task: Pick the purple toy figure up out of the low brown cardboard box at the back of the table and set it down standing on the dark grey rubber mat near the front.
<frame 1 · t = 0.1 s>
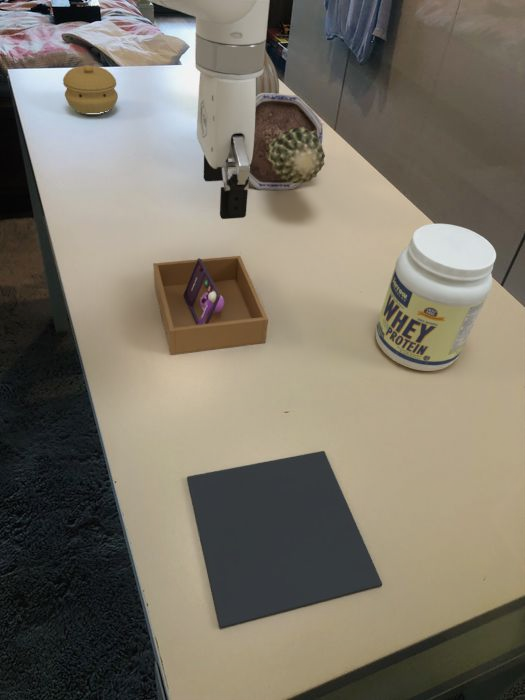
hand: (223, 197, 72), 17 cm above the table, tool pointing down, fingers open, 9 cm apart
vase: (248, 121, 135), on the table
purple toy figure: (207, 312, 81), resting on box
box: (207, 313, 81), on the table
supplement tub: (415, 345, 80), on the table
mat: (278, 529, 57), on the table
pot: (93, 112, 130), on the table
potted plant: (274, 191, 110), on the table
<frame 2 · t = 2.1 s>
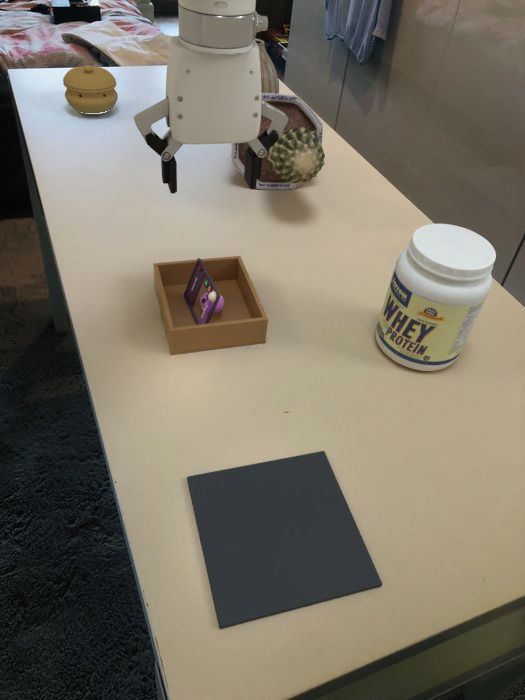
hand: (211, 186, 67), 20 cm above the table, tool pointing down, fingers open, 9 cm apart
nothing on the table moved.
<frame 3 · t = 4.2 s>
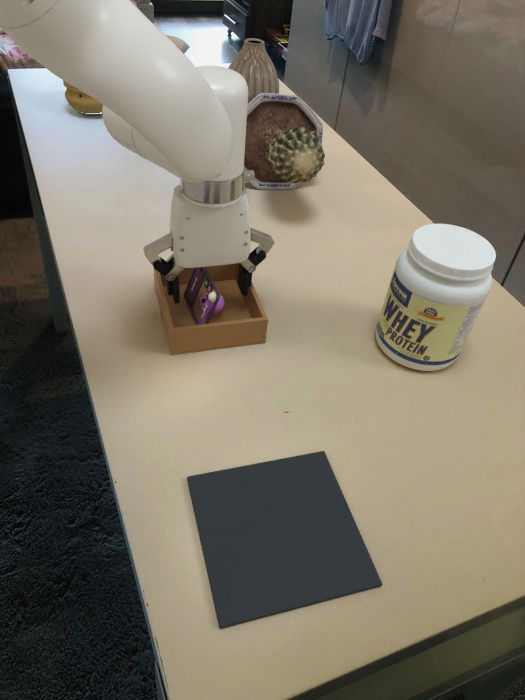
hand: (209, 293, 78), 3 cm above the table, tool pointing down, fingers open, 9 cm apart
nothing on the table moved.
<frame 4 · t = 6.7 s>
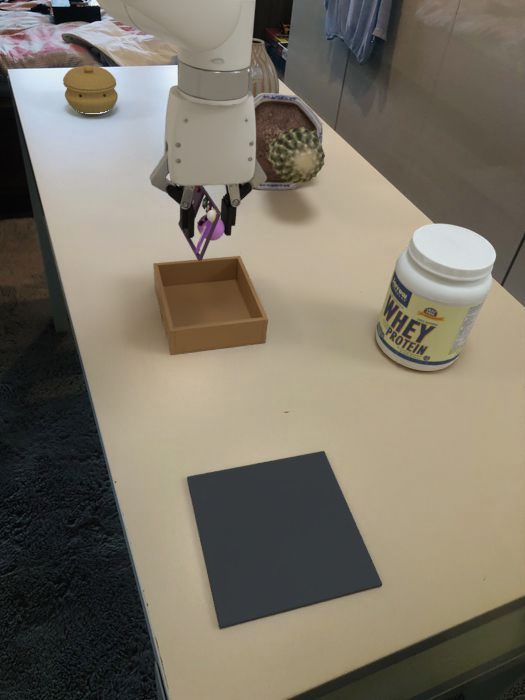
hand: (207, 230, 71), 14 cm above the table, tool pointing down, fingers closed on purple toy figure, 4 cm apart
purple toy figure: (205, 241, 72), point 13 cm above the table, touching gripper
everything else where it was.
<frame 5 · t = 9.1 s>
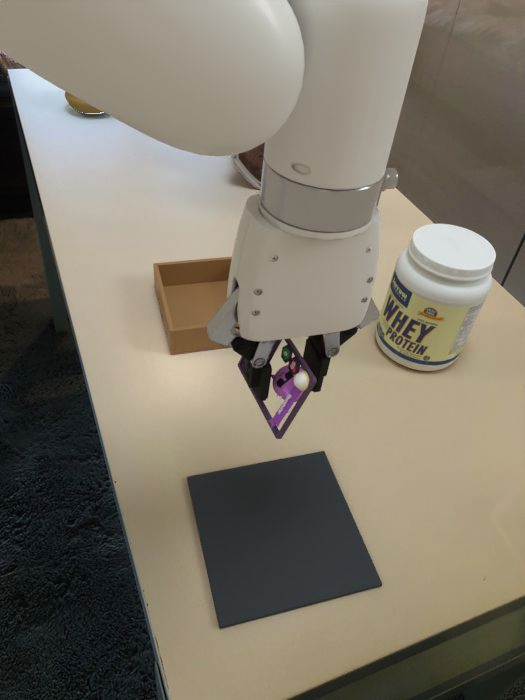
hand: (284, 383, 48), 18 cm above the table, tool pointing down, fingers closed on purple toy figure, 4 cm apart
purple toy figure: (280, 396, 49), point 16 cm above the table, touching gripper
everything else where it was.
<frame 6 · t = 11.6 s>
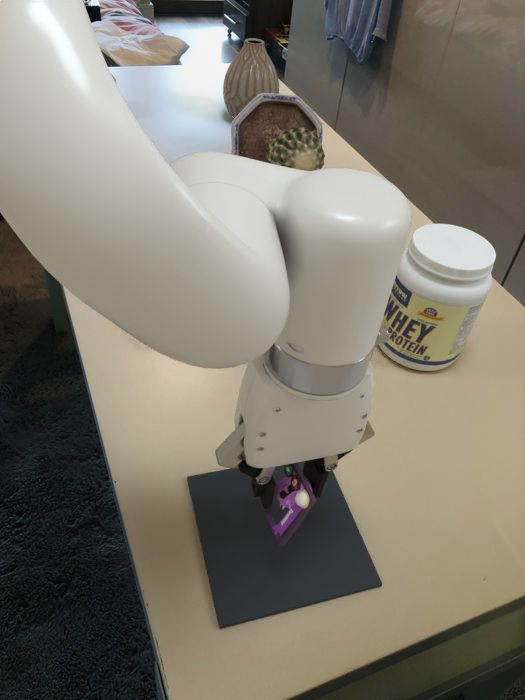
hand: (287, 488, 52), 8 cm above the table, tool pointing down, fingers closed on purple toy figure, 4 cm apart
purple toy figure: (283, 499, 53), point 6 cm above the table, touching gripper
everything else where it was.
when the fingers open (2 cm above the table, at t = 13.2 s): purple toy figure stays where it is, resting on mat.
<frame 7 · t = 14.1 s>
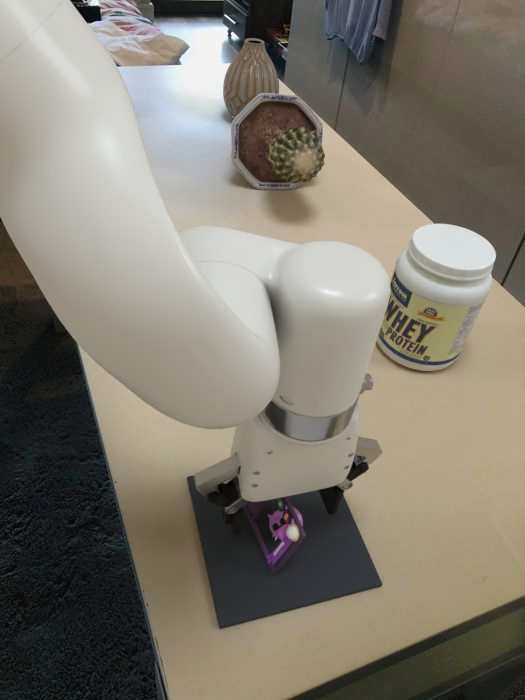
hand: (281, 511, 54), 4 cm above the table, tool pointing down, fingers open, 9 cm apart
purple toy figure: (276, 528, 57), resting on mat
everything else where it was.
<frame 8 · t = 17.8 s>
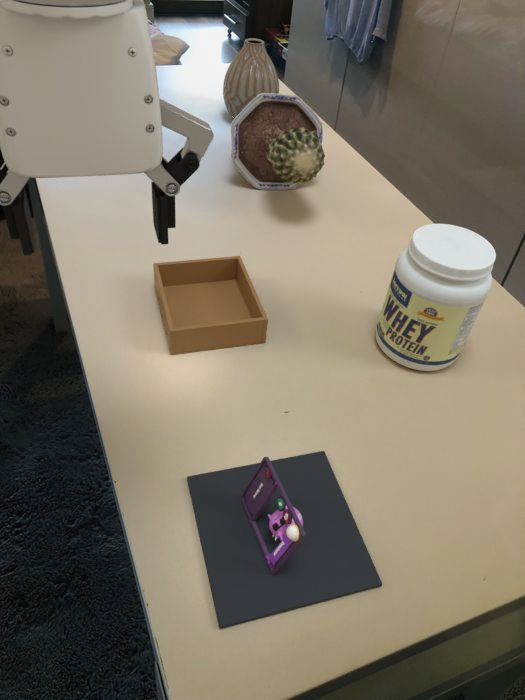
hand: (97, 239, 42), 28 cm above the table, tool pointing down, fingers open, 9 cm apart
nothing on the table moved.
at the end: purple toy figure inside the target area on the mat (0.3 cm from its centre), point 0.3 cm above the mat's base; purple toy figure touching mat; purple toy figure tilted 0° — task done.
